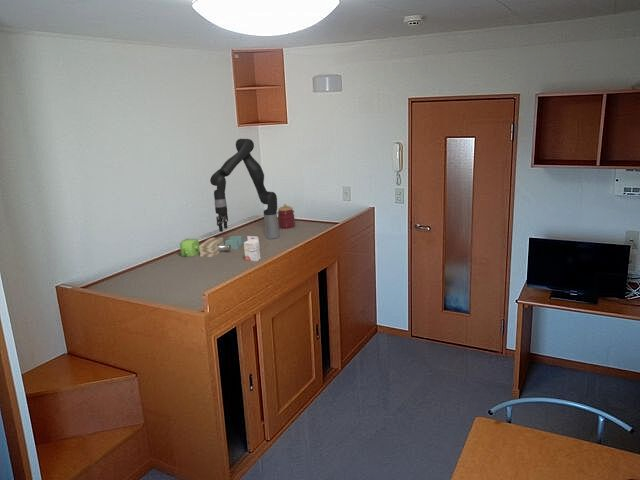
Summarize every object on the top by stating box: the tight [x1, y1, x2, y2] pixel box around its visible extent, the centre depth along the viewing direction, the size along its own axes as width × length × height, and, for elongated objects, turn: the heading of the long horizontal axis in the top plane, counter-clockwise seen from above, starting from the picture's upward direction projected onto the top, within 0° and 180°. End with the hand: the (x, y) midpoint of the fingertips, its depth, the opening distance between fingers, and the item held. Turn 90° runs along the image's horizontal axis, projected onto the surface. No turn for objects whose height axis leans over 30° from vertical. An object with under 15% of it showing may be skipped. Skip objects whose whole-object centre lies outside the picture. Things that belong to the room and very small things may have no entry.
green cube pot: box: [179, 238, 201, 257], centre depth 354 cm, size 18×10×10 cm, turn 168°
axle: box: [217, 244, 232, 251], centre depth 355 cm, size 18×4×4 cm, turn 80°
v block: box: [224, 235, 244, 250], centre depth 367 cm, size 8×13×6 cm, turn 170°
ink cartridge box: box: [243, 235, 261, 262], centre depth 332 cm, size 9×5×15 cm, turn 65°
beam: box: [199, 237, 225, 258], centre depth 356 cm, size 9×20×8 cm, turn 170°
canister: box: [277, 204, 296, 229], centre depth 413 cm, size 13×13×18 cm
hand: (223, 230), depth 351 cm, fingers open, 8 cm apart
